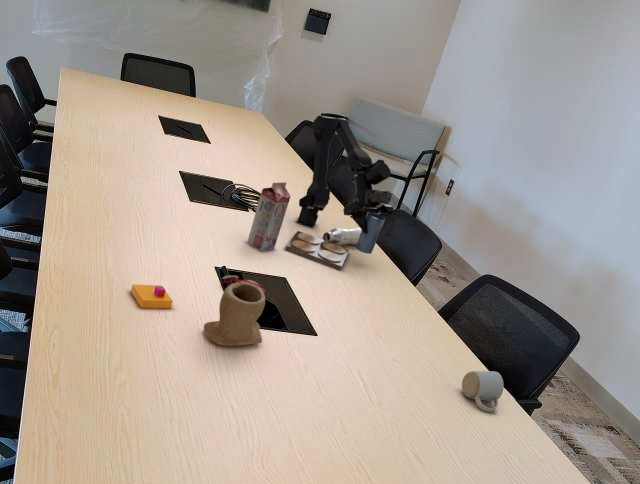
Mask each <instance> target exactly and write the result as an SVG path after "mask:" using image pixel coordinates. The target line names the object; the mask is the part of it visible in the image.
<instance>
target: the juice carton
mask: <svg viewBox="0 0 640 484" xmlns="http://www.w3.org/2000/svg"><path fill="white" fill-rule="evenodd" d="M286 187H287V182H284V181H283V182H273V183H272V184H271V187H264V188H262V189H261V193H260V196H259V199H258V203H257V207H256V209H255V214H254V216H253V220H252V225H251V228H250V230H249V234H248V237H247V241H246V243H247V244H249V245H250V246H252V247H254V249H256V250H258V251H259V252H266V251H267V252H268V251H274V250H275V248H276V244H277V241H278V238H279V236H280V235H279V234H280V232H281V229H282V226H283V222H284V220H285V216H286V212H287V210H288V206H289V203H290V200H291V197H292V196H291V193H290V192H289V191H288V189H287V188H286Z"/></svg>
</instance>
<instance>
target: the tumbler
mask: <svg viewBox="0 0 640 484" xmlns="http://www.w3.org/2000/svg"><path fill="white" fill-rule="evenodd" d="M385 221H386V217H385V218H384V217H383V216H381V215H379V214H376V213H367V215H366V222H367V230H368V233H367V234H364V232H363V231H361V234H360V237H359V239H358V242H357V244H356V245H355V249H356V250H357V251H359V252H361V253H363V254H368V255H370V254H373V251H374V249H375V246H376V243H377V241H378V239H379V236H380V235H381V234H380V231H381V229H382V230H383V226H384V223H385ZM381 232H382V231H381ZM379 234H380V235H379Z"/></svg>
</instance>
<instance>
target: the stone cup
mask: <svg viewBox="0 0 640 484" xmlns="http://www.w3.org/2000/svg"><path fill="white" fill-rule="evenodd" d="M265 305H266V295H265V293H264V292H263V291H262V290H261V289H260V288H259V287H258V286H256V285H254V284H251V283H248V282H238V283H236V282H234V283H231V284H230V285H229V286H227V287H225V289H224V291H223V293H222V296H221V298H220V301H219V309H218V310H219V312H218V313H219V320H215V321H208V322H206V323H204V324H203V331H204V333H205V335H206V337H208V339H209V340H210V341H212V342H214V343H215V344H217V345H220V346H245V345H255V344H262V343H263V337H262V333H261V326H260V324H259V323H258V322H257V320H258V319H259V318H260V317H261V315H262V314H263V312H264V309H265Z"/></svg>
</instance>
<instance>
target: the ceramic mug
mask: <svg viewBox="0 0 640 484" xmlns="http://www.w3.org/2000/svg"><path fill="white" fill-rule="evenodd" d="M504 385H505V384H504V379H503V377H502V375H501V374H500V372H498V371H495V370H493V371H491V370H490V371H489V370H474V371H469V372H467V373H466V374H465V375H464V376H463V378H462V381H461V390H462V393H463V395H464V396H465V397H466V398H469V399H471V400H475V403H476V405H477V407H478V408H479V409H481V410H482V411H484V412H489V413H490V412H491V413H492V412H493V411H494V410H496V409H497V407H498V406H499V399H500V398H501V397H502V395H503V393H504V387H505V386H504ZM482 401H487V402H493V407H488V406H486V405H484V404H483V402H482Z"/></svg>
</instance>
